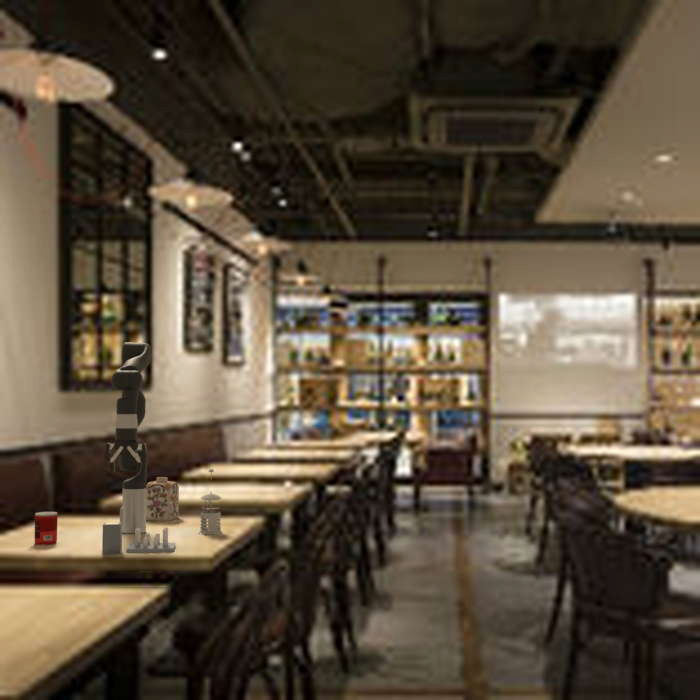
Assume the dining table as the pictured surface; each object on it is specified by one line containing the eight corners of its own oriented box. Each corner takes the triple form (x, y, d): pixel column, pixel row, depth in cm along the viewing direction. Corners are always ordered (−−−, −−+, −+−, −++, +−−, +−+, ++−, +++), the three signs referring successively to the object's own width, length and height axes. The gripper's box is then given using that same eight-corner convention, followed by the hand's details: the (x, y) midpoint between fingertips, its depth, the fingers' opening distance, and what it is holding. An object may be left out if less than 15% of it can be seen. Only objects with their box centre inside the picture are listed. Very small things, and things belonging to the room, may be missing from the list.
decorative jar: (143, 520, 407) (144, 478, 408) (153, 516, 419) (154, 475, 419) (170, 521, 405) (170, 479, 406) (179, 517, 417) (180, 476, 417)
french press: (202, 535, 368) (203, 470, 369) (193, 531, 379) (193, 468, 380) (226, 534, 373) (227, 469, 374) (216, 529, 383) (217, 467, 384)
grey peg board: (126, 552, 331) (126, 531, 331) (130, 546, 343) (130, 526, 343) (173, 551, 333) (173, 530, 333) (175, 545, 345) (175, 525, 345)
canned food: (61, 542, 351) (61, 512, 351) (47, 545, 343) (48, 515, 344) (43, 541, 353) (44, 511, 354) (29, 544, 346) (30, 513, 346)
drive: (102, 554, 327) (102, 524, 328) (104, 551, 332) (104, 522, 333) (120, 553, 328) (120, 524, 328) (121, 551, 333) (122, 522, 333)
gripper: (103, 427, 333) (103, 474, 333) (145, 427, 334) (144, 474, 333) (108, 426, 341) (107, 472, 340) (148, 426, 342) (147, 472, 341)
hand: (125, 473), depth 337 cm, fingers open, 8 cm apart
